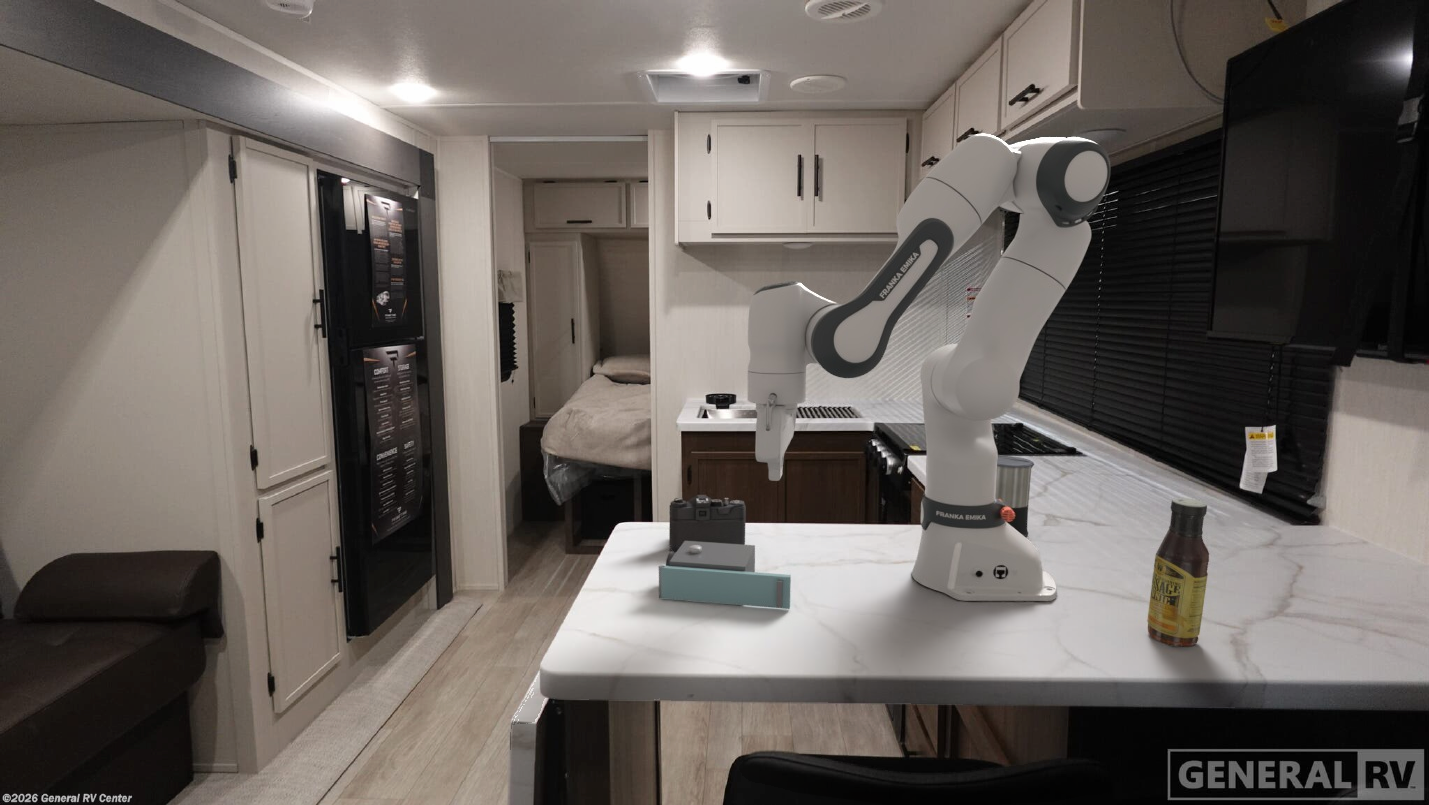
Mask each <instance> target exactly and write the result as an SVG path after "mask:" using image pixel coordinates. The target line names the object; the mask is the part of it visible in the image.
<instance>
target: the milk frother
mask: <svg viewBox="0 0 1429 805" xmlns="http://www.w3.org/2000/svg"><path fill="white" fill-rule="evenodd" d="M1034 466H1035V463H1034V461H1032V460H1031V459H1028V458H1024V457H1018V456H1012V455H1010V456H1009V455H998V459H997V478H996V495H995V498H997V499H1000V500H1001V501H1002V502H1004V503H1005V504H1007V506H1008V507H1010V508H1011V509H1012V510H1013V512H1014V513H1015V514H1014V515H1015V519H1012V520H1013V521H1010V522H1007V521H1006V522H1007V523H1008V524H1010V525H1011V526H1012V527H1013V528H1015V529H1016V530H1017V531H1018V532H1019V533H1021V534H1022V535H1023V536H1024V537H1027V536H1028V535H1029V530H1028V521H1029V519H1028V516H1029V515H1028V514H1029V500H1030V489H1031V479H1032V478H1031V477H1032V476H1031V475H1032V469H1033V467H1034Z"/></svg>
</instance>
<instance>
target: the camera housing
mask: <svg viewBox="0 0 1429 805" xmlns="http://www.w3.org/2000/svg"><path fill="white" fill-rule="evenodd" d="M755 565H756V545H755V544H745V545H742V544H727V543H712V542H697V541H684V542H683V544H682V545H681V547H680V548H679V549H678V551H677V552H674V551H670V552H669V553H668V555H667V557H666V562H665V566H677V567H691V568H704V569H718V570H731V571H745V572H756V568H755V567H756V566H755Z"/></svg>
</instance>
